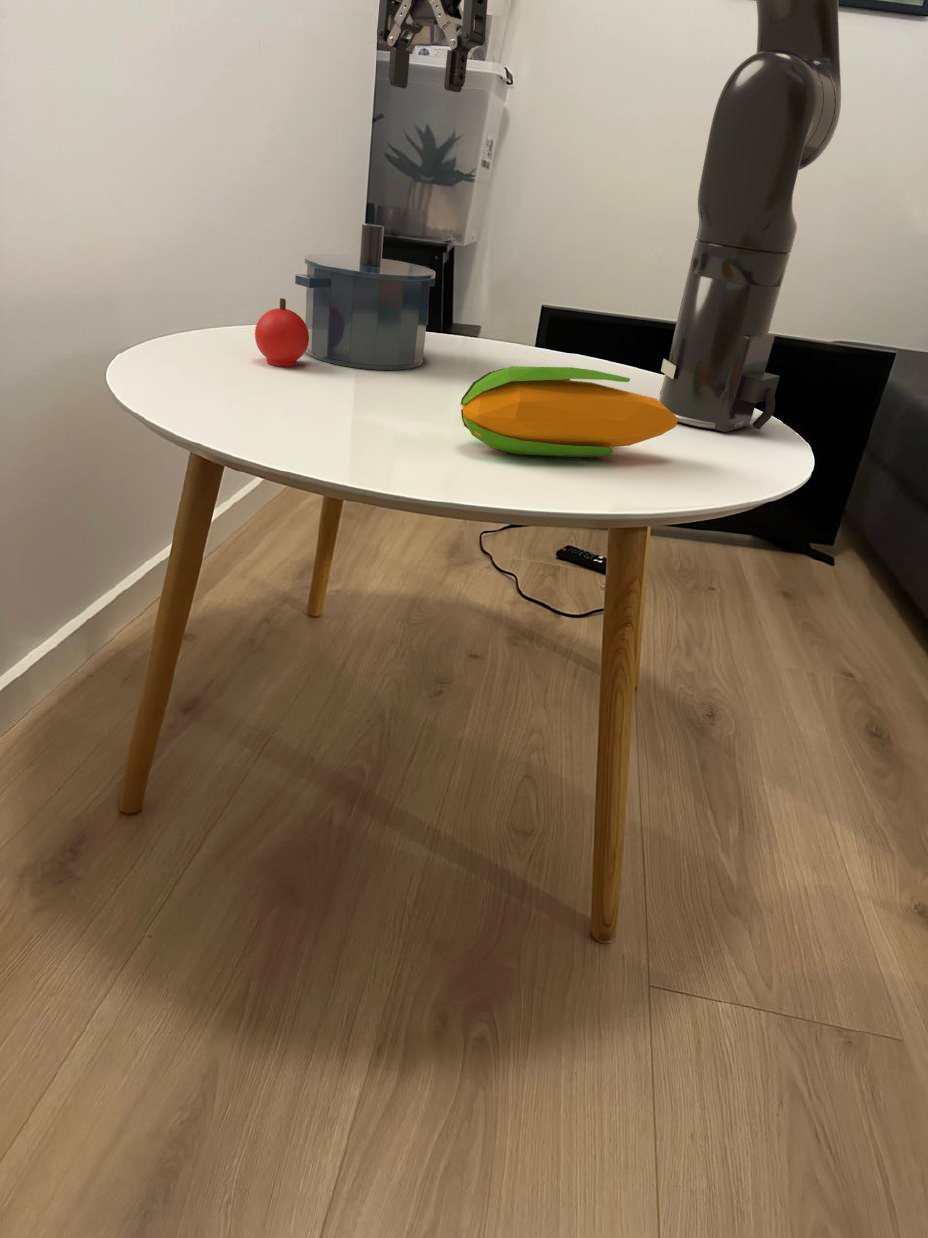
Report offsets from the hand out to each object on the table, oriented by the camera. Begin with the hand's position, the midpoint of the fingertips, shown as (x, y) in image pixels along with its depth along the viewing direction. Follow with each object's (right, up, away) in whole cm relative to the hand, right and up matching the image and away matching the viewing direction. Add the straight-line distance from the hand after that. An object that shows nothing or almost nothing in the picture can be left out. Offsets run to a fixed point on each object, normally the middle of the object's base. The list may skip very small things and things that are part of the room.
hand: (424, 89), depth 97 cm
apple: (-15, -33, -5) cm, 37 cm away
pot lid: (-6, -21, -2) cm, 22 cm away
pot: (-7, -29, +3) cm, 30 cm away
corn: (+13, -46, -22) cm, 52 cm away
